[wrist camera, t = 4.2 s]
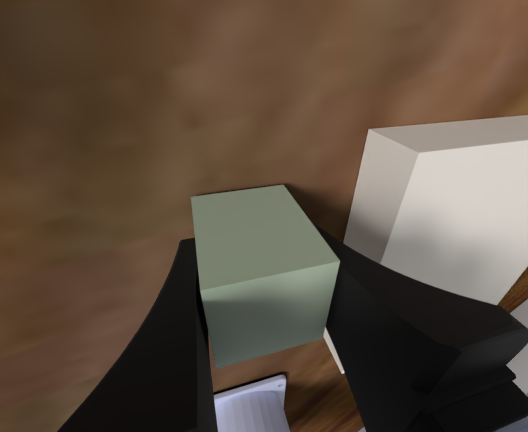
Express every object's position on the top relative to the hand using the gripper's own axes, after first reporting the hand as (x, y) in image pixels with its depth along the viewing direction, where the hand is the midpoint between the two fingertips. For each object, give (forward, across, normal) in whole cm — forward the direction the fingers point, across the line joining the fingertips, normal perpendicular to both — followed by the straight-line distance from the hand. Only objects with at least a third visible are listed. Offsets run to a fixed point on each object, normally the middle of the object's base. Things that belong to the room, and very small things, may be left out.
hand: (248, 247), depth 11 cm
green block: (+1, 0, 0) cm, 1 cm away
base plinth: (+2, -12, +4) cm, 13 cm away
